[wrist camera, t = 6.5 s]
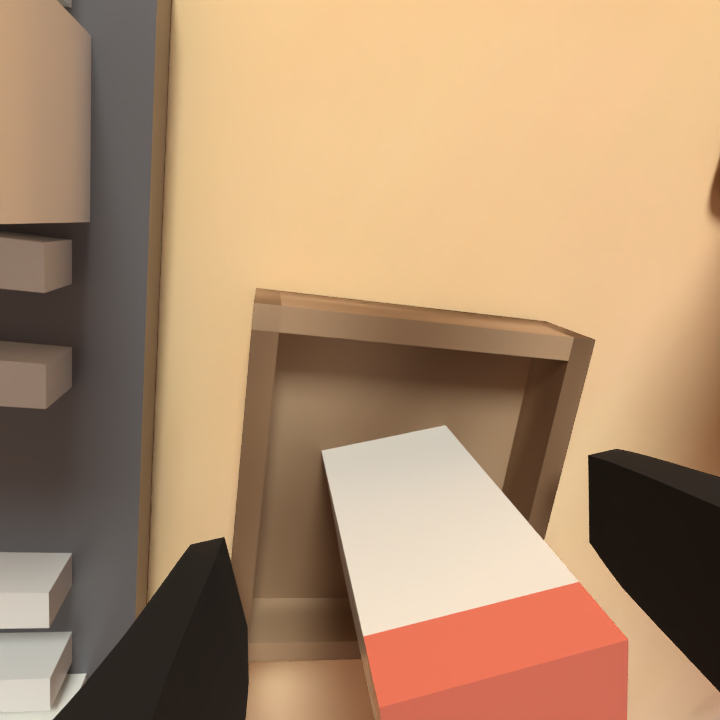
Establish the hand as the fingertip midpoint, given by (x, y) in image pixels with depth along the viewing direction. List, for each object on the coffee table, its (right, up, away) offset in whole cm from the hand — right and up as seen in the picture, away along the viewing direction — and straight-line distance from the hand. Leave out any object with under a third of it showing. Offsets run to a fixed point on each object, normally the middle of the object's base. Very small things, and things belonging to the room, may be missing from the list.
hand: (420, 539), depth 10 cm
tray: (-1, +1, +3) cm, 3 cm away
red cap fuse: (0, 0, +3) cm, 3 cm away
